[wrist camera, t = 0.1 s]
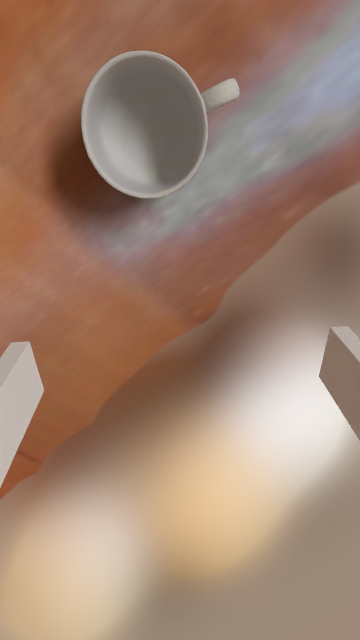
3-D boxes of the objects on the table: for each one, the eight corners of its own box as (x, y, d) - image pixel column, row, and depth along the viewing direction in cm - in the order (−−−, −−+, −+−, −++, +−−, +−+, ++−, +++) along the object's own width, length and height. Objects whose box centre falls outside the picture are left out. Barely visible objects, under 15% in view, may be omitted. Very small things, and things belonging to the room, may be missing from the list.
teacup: (114, 195, 38) (103, 210, 31) (80, 81, 32) (58, 68, 25) (235, 167, 37) (253, 176, 30) (221, 44, 32) (238, 21, 25)
